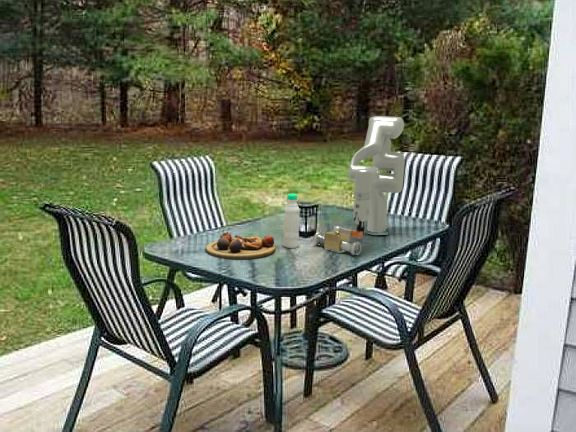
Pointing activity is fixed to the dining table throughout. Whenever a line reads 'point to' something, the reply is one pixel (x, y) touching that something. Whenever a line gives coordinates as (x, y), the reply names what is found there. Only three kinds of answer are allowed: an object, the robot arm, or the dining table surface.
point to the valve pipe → (337, 242)
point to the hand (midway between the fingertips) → (360, 235)
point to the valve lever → (349, 232)
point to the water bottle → (291, 222)
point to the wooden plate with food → (241, 247)
